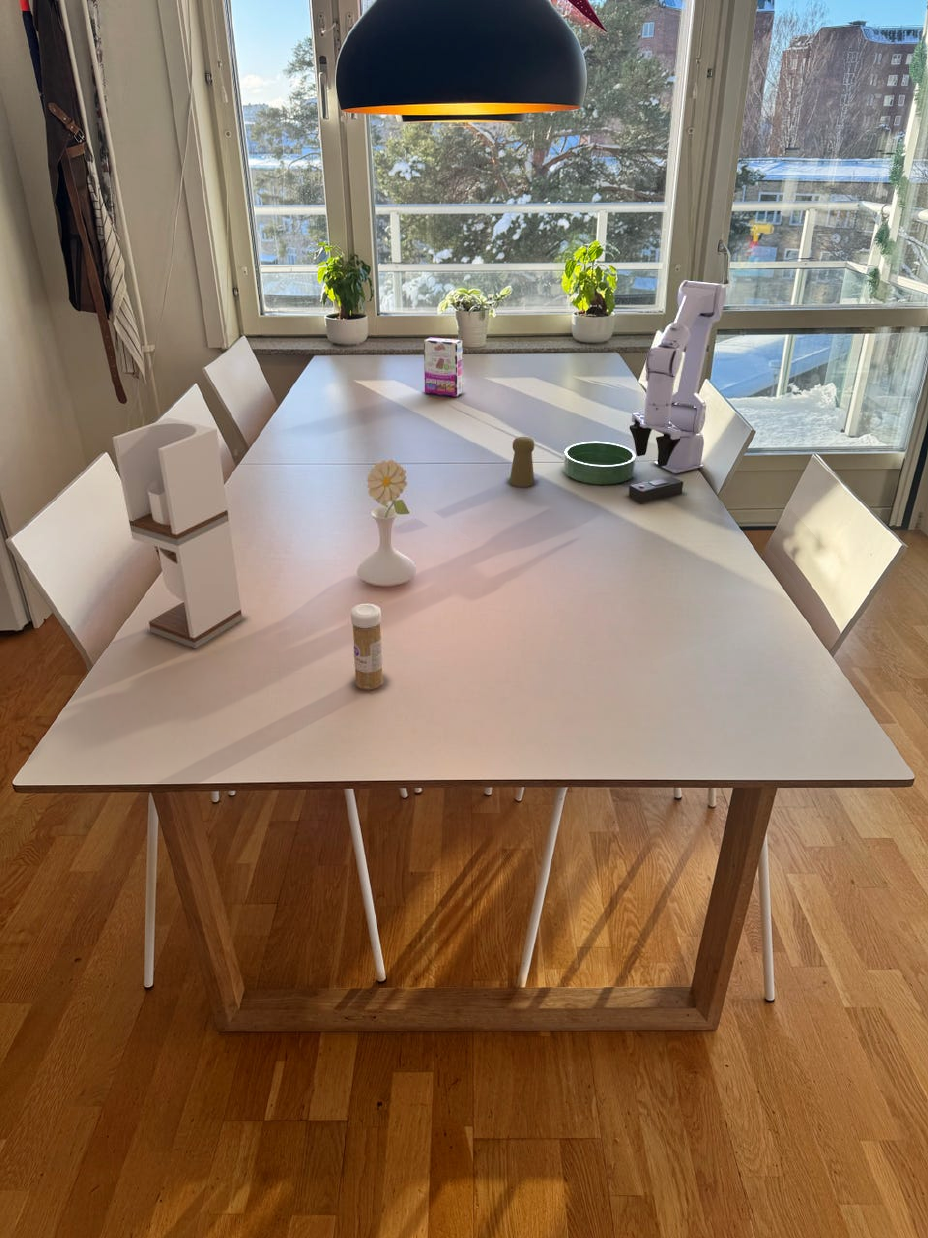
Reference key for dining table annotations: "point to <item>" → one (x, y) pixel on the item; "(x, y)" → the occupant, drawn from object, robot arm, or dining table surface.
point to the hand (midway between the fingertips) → (651, 460)
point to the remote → (655, 489)
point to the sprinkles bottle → (367, 646)
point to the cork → (522, 462)
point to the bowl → (599, 463)
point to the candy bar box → (443, 366)
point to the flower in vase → (386, 528)
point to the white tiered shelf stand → (182, 524)
